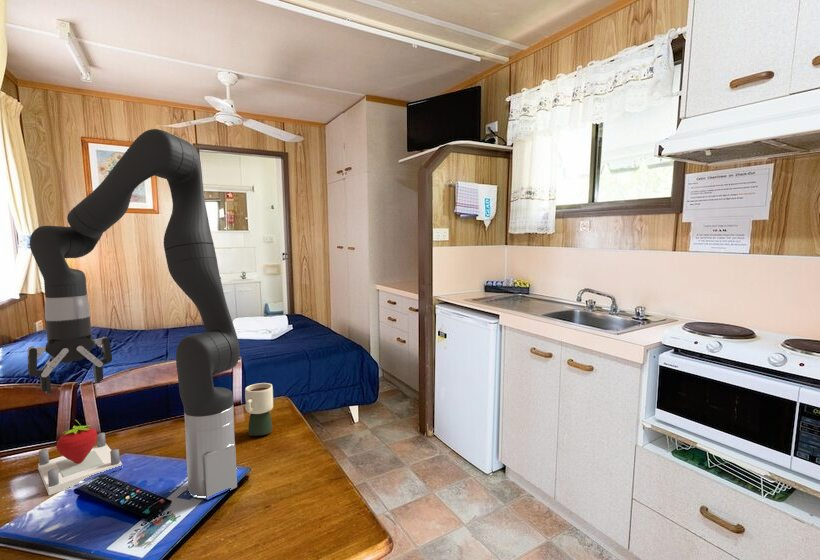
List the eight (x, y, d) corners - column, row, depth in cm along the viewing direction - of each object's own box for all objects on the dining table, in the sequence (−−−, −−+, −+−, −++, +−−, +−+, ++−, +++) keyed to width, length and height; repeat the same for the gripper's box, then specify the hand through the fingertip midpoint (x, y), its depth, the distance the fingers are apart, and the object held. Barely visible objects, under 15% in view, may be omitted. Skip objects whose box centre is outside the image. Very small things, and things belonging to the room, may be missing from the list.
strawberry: (51, 468, 88) (48, 425, 87) (90, 452, 95) (87, 412, 94) (66, 474, 86) (63, 430, 85) (105, 457, 93) (102, 416, 92)
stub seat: (122, 469, 91) (121, 450, 90) (48, 495, 81) (47, 474, 81) (105, 448, 100) (104, 431, 100) (38, 469, 91) (36, 451, 90)
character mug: (259, 423, 114) (258, 379, 113) (282, 425, 113) (281, 381, 112) (236, 441, 103) (234, 393, 102) (261, 444, 102) (259, 395, 101)
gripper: (26, 323, 80) (32, 400, 81) (111, 313, 91) (116, 382, 92) (21, 319, 85) (28, 392, 86) (103, 310, 96) (108, 376, 97)
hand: (73, 387), depth 89 cm, fingers open, 8 cm apart
